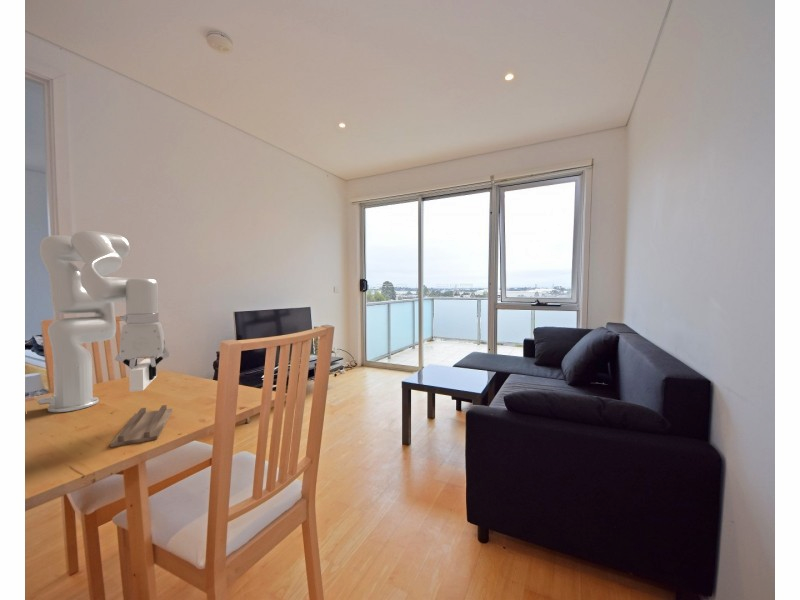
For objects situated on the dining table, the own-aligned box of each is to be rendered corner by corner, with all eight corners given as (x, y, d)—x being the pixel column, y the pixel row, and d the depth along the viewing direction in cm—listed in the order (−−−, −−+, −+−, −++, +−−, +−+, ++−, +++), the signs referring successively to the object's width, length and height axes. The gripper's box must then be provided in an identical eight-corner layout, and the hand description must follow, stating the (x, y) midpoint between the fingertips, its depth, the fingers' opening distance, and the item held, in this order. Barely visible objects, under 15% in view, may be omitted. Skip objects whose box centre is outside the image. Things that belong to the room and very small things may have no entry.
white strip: (129, 391, 87) (129, 370, 87) (145, 377, 101) (144, 358, 101) (143, 390, 88) (142, 369, 88) (156, 376, 102) (156, 358, 102)
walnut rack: (110, 447, 83) (110, 438, 83) (135, 416, 103) (135, 409, 103) (157, 439, 88) (156, 430, 88) (172, 411, 107) (172, 404, 107)
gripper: (102, 321, 87) (103, 386, 88) (173, 319, 94) (174, 379, 95) (111, 319, 94) (113, 379, 94) (178, 317, 101) (179, 373, 102)
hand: (144, 379), depth 95 cm, fingers closed on white strip, 3 cm apart
